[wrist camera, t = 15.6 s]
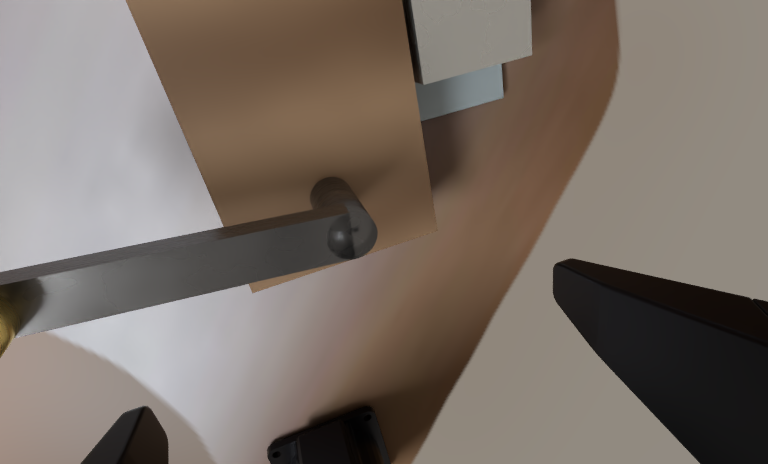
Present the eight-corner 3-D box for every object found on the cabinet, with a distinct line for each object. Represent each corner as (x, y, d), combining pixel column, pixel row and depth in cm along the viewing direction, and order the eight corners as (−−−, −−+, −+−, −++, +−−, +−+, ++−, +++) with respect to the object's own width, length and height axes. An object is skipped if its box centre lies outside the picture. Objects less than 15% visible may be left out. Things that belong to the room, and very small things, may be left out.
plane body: (412, 205, 21) (437, 230, 18) (250, 257, 20) (252, 293, 17) (329, -256, 13) (352, -322, 11) (51, -223, 12) (-1, -290, 9)
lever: (348, 168, 16) (386, 217, 12) (355, 217, 17) (392, 277, 13) (-26, 236, 13) (-137, 329, 9) (6, 290, 14) (-83, 395, 10)
